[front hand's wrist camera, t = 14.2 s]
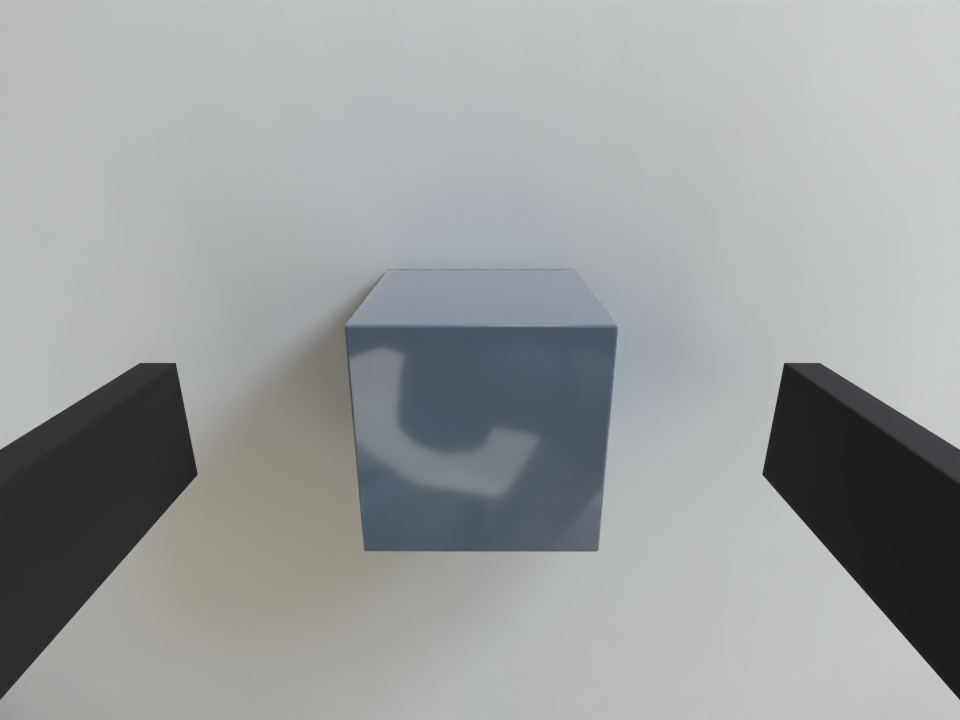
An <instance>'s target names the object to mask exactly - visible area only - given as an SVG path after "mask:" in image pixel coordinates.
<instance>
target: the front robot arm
mask: <svg viewBox="0 0 960 720" xmlns="http://www.w3.org/2000/svg"><path fill="white" fill-rule="evenodd" d="M197 475H198V474H197V469H196V464H195V459H194V454H193V449H192V444H191V439H190V434H189V429H188V423H187V418H186V413H185V408H184V403H183V398H182V393H181V388H180V383H179V378H178V373H177V368H176V363H140V364H138V365H136V366H135V367H133V368H131V369H130V370H128V371H127V372H125V373H123V374H122V375H120V376H119V377H117V378H115V379H114V380H112V381H111V382H109V383H107V384H106V385H104V386H102V387H101V388H99V389H98V390H96V391H94V392H93V393H91V394H90V395H88V396H86V397H85V398H83V399H81V400H80V401H78V402H77V403H75V404H73V405H72V406H70V407H69V408H67V409H65V410H64V411H62V412H60V413H59V414H57V415H56V416H54V417H52V418H51V419H49V420H48V421H46V422H44V423H43V424H41V425H40V426H38V427H36V428H35V429H33V430H31V431H30V432H28V433H27V434H25V435H23V436H22V437H20V438H19V439H17V440H15V441H14V442H12V443H10V444H9V445H7V446H6V447H4V448H2V449H1V450H0V699H1V698H2V697H3V696H4V695H5V694H6V693H7V691H8V690H9V689H10V688H11V687H12V686H13V685H14V683H15V682H16V681H17V680H18V679H19V678H20V677H21V675H22V674H23V673H24V672H25V671H26V670H27V669H28V667H29V666H30V665H31V664H32V663H33V662H34V661H35V659H36V658H37V657H38V656H39V655H40V654H41V653H42V651H43V650H44V649H45V648H46V647H47V646H48V645H49V643H50V642H51V641H52V640H53V639H54V638H55V637H56V635H57V634H58V633H59V632H60V631H61V630H62V629H63V627H64V626H65V625H66V624H67V623H68V622H69V621H70V620H71V618H72V617H73V616H74V615H75V614H76V613H77V612H78V610H79V609H80V608H81V607H82V606H83V605H84V604H85V602H86V601H87V600H88V599H89V598H90V597H91V596H92V594H93V593H94V592H95V591H96V590H97V589H98V588H99V586H100V585H101V584H102V583H103V582H104V581H105V580H106V578H107V577H108V576H109V575H110V574H111V573H112V572H113V570H114V569H115V568H116V567H117V566H118V565H119V564H120V562H121V561H122V560H123V559H124V558H125V557H126V556H127V555H128V553H129V552H130V551H131V550H132V549H133V548H134V547H135V545H136V544H137V543H138V542H139V541H140V540H141V539H142V537H143V536H144V535H145V534H146V533H147V532H148V531H149V529H150V528H151V527H152V526H153V525H154V524H155V523H156V521H157V520H158V519H159V518H160V517H161V516H162V515H163V513H164V512H165V511H166V510H167V509H168V508H169V507H170V505H171V504H172V503H173V502H174V501H175V500H176V499H177V497H178V496H179V495H180V494H181V493H182V492H183V491H184V490H185V488H186V487H187V486H188V485H189V484H190V483H191V482H192V480H193V479H194V478H195V477H196V476H197ZM762 475H763V476H764V477H765V478H766V479H767V480H768V482H769V483H770V484H771V485H772V486H773V487H774V488H775V490H776V491H777V492H778V493H779V494H780V495H781V496H782V497H783V499H784V500H785V501H786V502H787V503H788V504H789V505H790V507H791V508H792V509H793V510H794V511H795V512H796V513H797V515H798V516H799V517H800V518H801V519H802V520H803V521H804V523H805V524H806V525H807V526H808V527H809V528H810V529H811V531H812V532H813V533H814V534H815V535H816V536H817V537H818V539H819V540H820V541H821V542H822V543H823V544H824V545H825V547H826V548H827V549H828V550H829V551H830V552H831V553H832V555H833V556H834V557H835V558H836V559H837V560H838V561H839V562H840V564H841V565H842V566H843V567H844V568H845V569H846V570H847V572H848V573H849V574H850V575H851V576H852V577H853V578H854V580H855V581H856V582H857V583H858V584H859V585H860V586H861V588H862V589H863V590H864V591H865V592H866V593H867V594H868V596H869V597H870V598H871V599H872V600H873V601H874V602H875V604H876V605H877V606H878V607H879V608H880V609H881V610H882V612H883V613H884V614H885V615H886V616H887V617H888V618H889V620H890V621H891V622H892V623H893V624H894V625H895V626H896V627H897V629H898V630H899V631H900V632H901V633H902V634H903V635H904V637H905V638H906V639H907V640H908V641H909V642H910V643H911V645H912V646H913V647H914V648H915V649H916V650H917V651H918V653H919V654H920V655H921V656H922V657H923V658H924V659H925V661H926V662H927V663H928V664H929V665H930V666H931V667H932V669H933V670H934V671H935V672H936V673H937V674H938V675H939V677H940V678H941V679H942V680H943V681H944V682H945V683H946V685H947V686H948V687H949V688H950V689H951V690H952V691H953V693H954V694H955V695H956V696H957V697H958V698H959V699H960V450H959V449H958V448H956V447H954V446H953V445H951V444H950V443H948V442H946V441H945V440H943V439H941V438H940V437H938V436H937V435H935V434H933V433H932V432H930V431H929V430H927V429H925V428H924V427H922V426H920V425H919V424H917V423H916V422H914V421H912V420H911V419H909V418H908V417H906V416H904V415H903V414H901V413H900V412H898V411H896V410H895V409H893V408H891V407H890V406H888V405H887V404H885V403H883V402H882V401H880V400H879V399H877V398H875V397H874V396H872V395H870V394H869V393H867V392H866V391H864V390H862V389H861V388H859V387H858V386H856V385H854V384H853V383H851V382H849V381H848V380H846V379H845V378H843V377H841V376H840V375H838V374H837V373H835V372H833V371H832V370H830V369H829V368H827V367H825V366H824V365H822V364H820V363H784V368H783V373H782V378H781V383H780V388H779V393H778V398H777V403H776V408H775V413H774V418H773V423H772V429H771V434H770V439H769V444H768V449H767V454H766V459H765V464H764V469H763V474H762Z"/></svg>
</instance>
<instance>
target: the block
mask: <svg viewBox="0 0 960 720" xmlns="http://www.w3.org/2000/svg"><path fill="white" fill-rule="evenodd" d="M617 333H618V325H617V324H616V323H615V321H614V320H613V319H612V317H611V316H610V315H609V314H608V312H607V311H606V310H605V308H604V307H603V306H602V305H601V303H600V302H599V301H598V299H597V298H596V297H595V296H594V294H593V293H592V292H591V290H590V289H589V288H588V287H587V285H586V284H585V283H584V281H583V280H582V279H581V278H580V276H579V275H578V274H577V272H576V271H575V270H387V272H386V273H385V274H384V275H383V277H382V278H381V279H380V281H379V282H378V283H377V284H376V286H375V287H374V288H373V290H372V291H371V292H370V294H369V295H368V296H367V297H366V299H365V300H364V301H363V303H362V304H361V305H360V306H359V308H358V309H357V310H356V312H355V313H354V314H353V315H352V317H351V318H350V319H349V321H348V322H347V323H346V325H345V338H346V349H347V361H348V372H349V384H350V395H351V407H352V418H353V430H354V441H355V453H356V464H357V476H358V487H359V499H360V510H361V522H362V533H363V545H364V550H365V551H598V548H599V537H600V526H601V514H602V503H603V492H604V480H605V469H606V458H607V447H608V435H609V424H610V413H611V401H612V390H613V379H614V367H615V356H616V345H617Z"/></svg>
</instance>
